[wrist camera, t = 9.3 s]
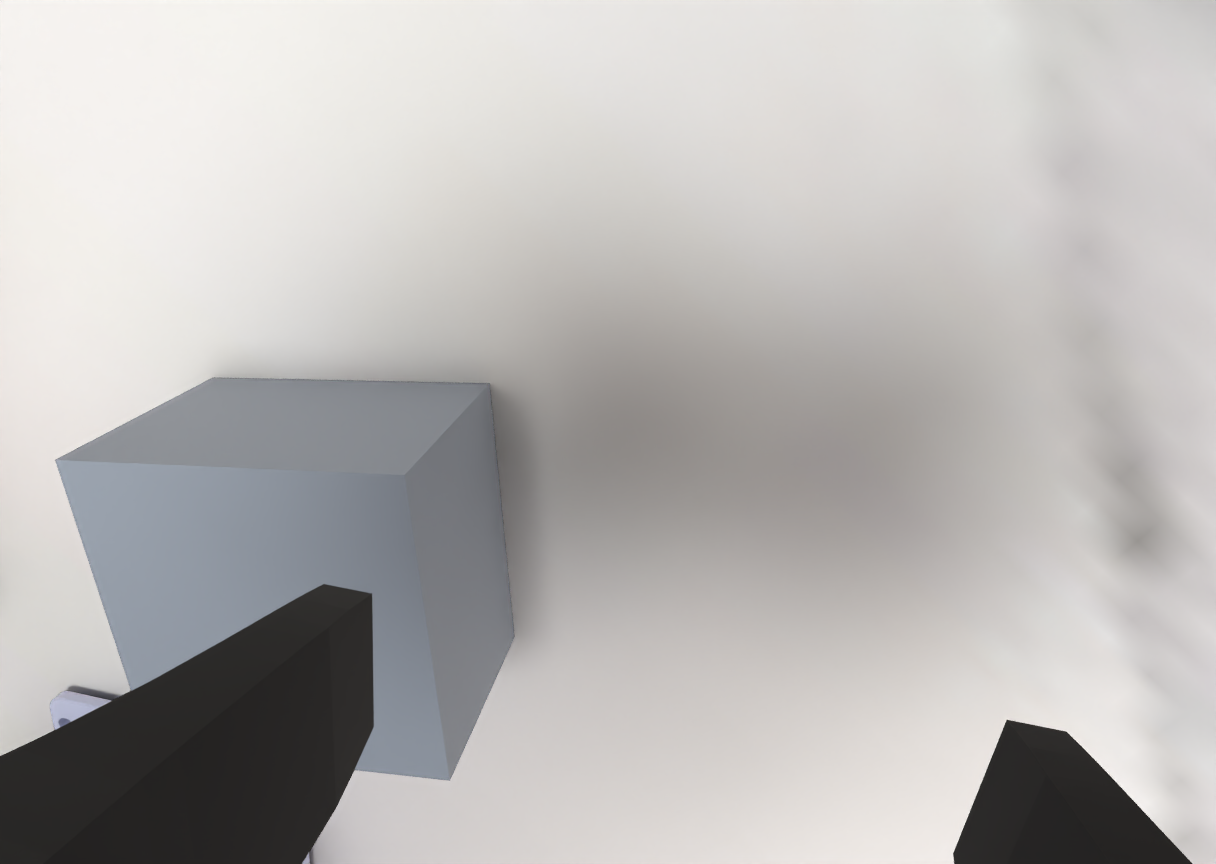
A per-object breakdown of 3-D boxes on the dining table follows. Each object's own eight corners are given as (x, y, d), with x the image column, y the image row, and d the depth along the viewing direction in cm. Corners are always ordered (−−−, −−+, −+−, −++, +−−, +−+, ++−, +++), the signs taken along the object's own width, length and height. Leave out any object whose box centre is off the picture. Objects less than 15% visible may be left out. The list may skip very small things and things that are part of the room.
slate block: (516, 633, 21) (449, 780, 17) (273, 614, 22) (149, 747, 18) (491, 381, 19) (404, 475, 14) (217, 375, 20) (55, 459, 15)
